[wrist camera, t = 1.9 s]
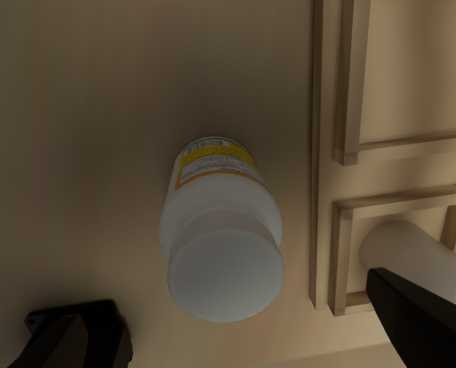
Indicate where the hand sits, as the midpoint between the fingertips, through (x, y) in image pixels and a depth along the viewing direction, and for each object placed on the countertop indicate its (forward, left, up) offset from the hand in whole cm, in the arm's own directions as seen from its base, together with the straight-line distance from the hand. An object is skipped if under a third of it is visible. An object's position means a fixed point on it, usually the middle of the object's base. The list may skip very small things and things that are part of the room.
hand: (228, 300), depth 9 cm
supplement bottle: (0, 0, -11) cm, 11 cm away
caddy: (+12, -1, -10) cm, 16 cm away
